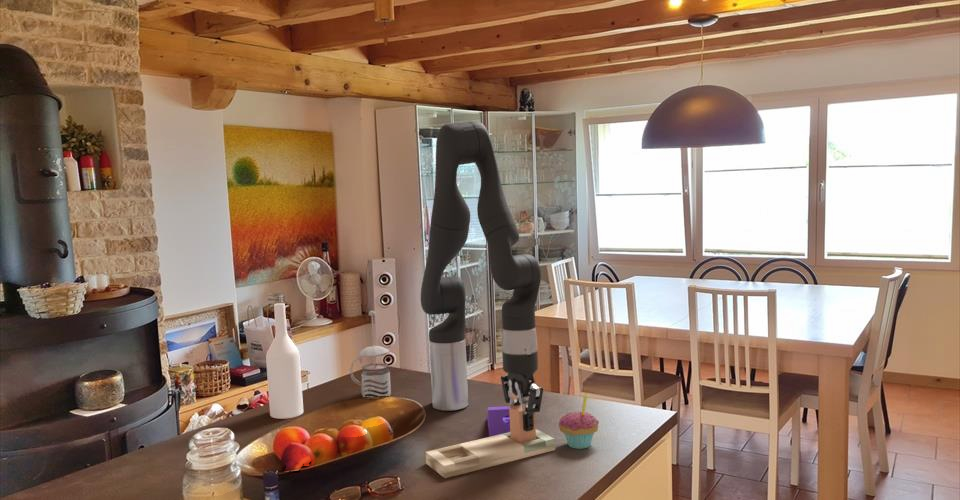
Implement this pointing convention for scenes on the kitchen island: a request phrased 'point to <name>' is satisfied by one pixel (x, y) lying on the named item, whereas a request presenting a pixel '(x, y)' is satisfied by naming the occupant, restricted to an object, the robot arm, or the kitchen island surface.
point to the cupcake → (579, 427)
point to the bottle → (283, 371)
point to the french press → (374, 370)
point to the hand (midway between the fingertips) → (522, 427)
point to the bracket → (498, 420)
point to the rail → (485, 453)
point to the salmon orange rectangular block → (520, 426)
